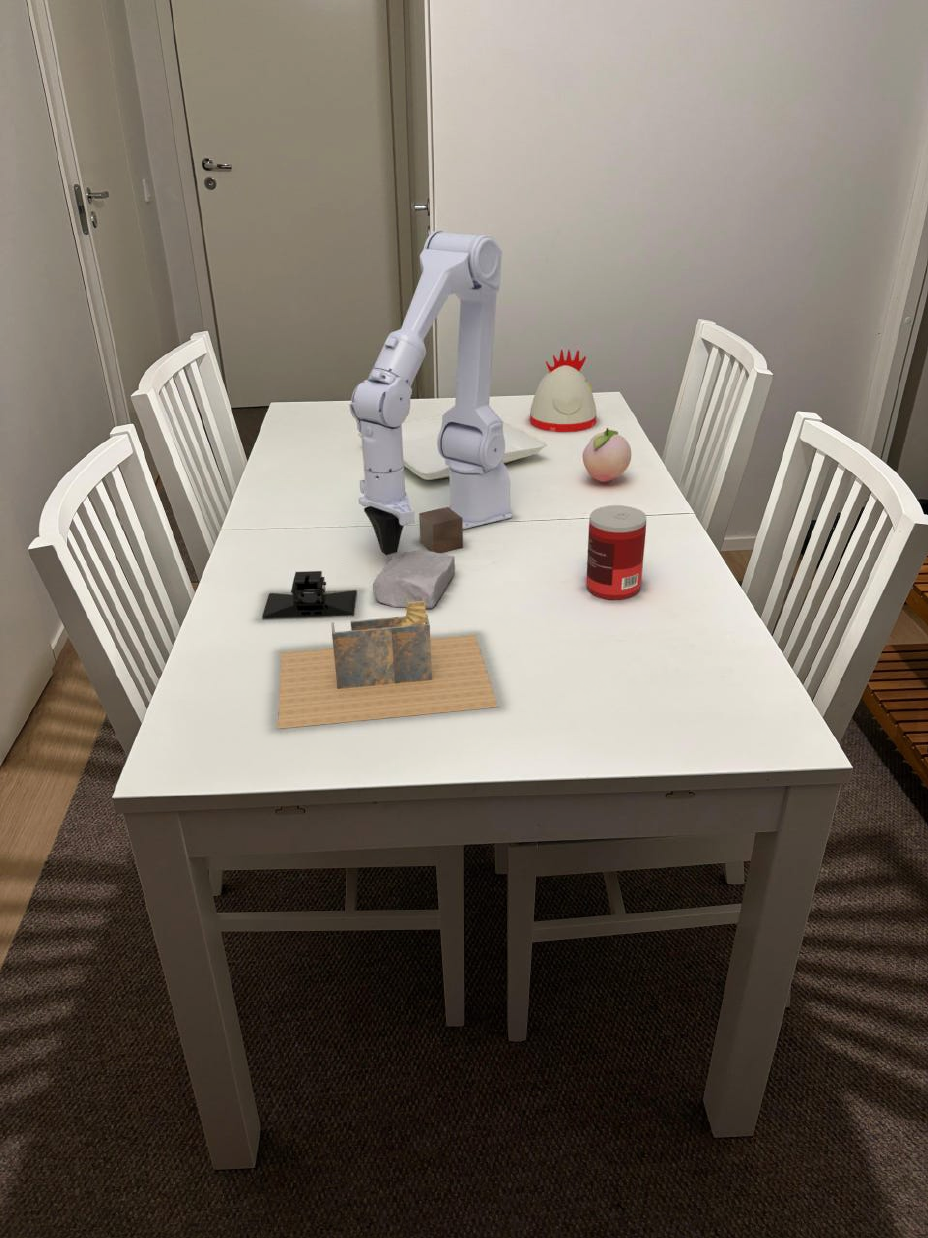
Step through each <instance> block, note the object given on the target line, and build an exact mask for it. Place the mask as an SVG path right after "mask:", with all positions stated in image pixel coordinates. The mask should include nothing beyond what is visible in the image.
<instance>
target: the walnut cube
mask: <svg viewBox="0 0 928 1238" xmlns="http://www.w3.org/2000/svg"><path fill="white" fill-rule="evenodd" d="M418 518H419V519H418V520H419V522H418V524H419V543H421V544H422V545H423V546H424V547H425V548H426V549H427V550H428V551H431V552H435V553H440V554H443V553H447V552H451V551H454V550H458V549H463V548H464V529H463V521H462V517H461V516H459V515H458V514H457V513H455V512H454V511H453V510H451V509H450V506H445V507H441V508H436V509H431V510H426V511H423V512H418Z"/></svg>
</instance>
